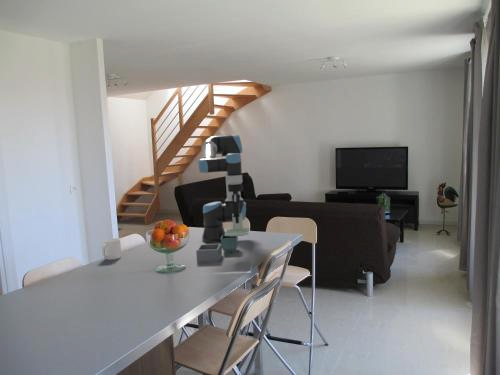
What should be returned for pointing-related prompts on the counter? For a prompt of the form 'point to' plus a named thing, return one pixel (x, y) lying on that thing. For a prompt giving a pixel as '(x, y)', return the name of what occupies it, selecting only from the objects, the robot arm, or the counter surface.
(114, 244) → the cup
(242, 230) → the lid
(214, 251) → the tub
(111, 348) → the counter surface
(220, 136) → the robot arm
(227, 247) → the flower pot
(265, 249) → the counter surface
